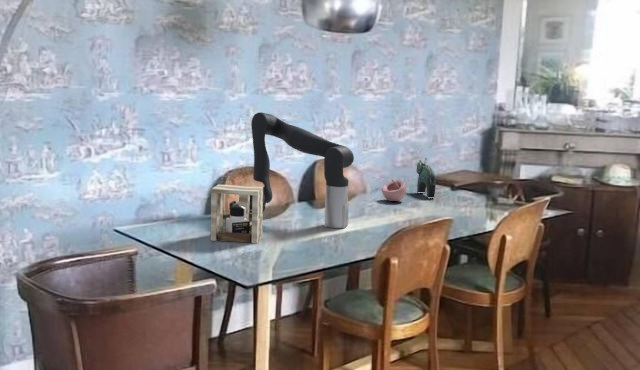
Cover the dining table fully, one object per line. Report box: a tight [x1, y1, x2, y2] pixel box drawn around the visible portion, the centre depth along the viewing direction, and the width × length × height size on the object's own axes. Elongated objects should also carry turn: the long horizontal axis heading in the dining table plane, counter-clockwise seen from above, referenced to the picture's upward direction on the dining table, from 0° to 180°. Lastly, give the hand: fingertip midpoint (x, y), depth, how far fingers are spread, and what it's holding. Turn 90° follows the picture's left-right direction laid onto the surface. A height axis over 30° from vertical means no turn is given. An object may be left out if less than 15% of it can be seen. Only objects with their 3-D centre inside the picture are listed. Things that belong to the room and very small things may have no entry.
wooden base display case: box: [217, 195, 252, 243], centre depth 267 cm, size 19×12×15 cm, turn 174°
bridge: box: [210, 184, 264, 244], centre depth 262 cm, size 10×18×20 cm, turn 84°
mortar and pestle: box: [381, 179, 407, 202], centre depth 345 cm, size 12×12×11 cm
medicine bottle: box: [225, 206, 251, 234], centre depth 264 cm, size 7×7×12 cm
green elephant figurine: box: [416, 157, 436, 198], centre depth 363 cm, size 20×6×20 cm, turn 10°
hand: (244, 209), depth 275 cm, fingers open, 8 cm apart
